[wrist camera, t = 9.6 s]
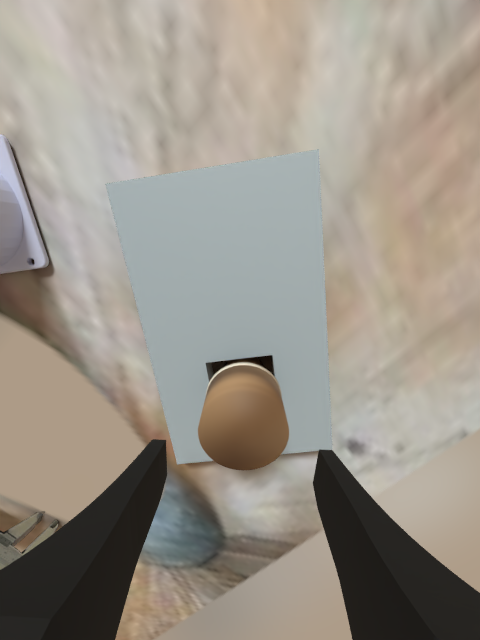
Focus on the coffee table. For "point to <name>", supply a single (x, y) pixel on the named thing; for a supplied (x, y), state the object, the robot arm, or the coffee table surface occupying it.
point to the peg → (243, 416)
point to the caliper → (3, 543)
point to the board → (231, 286)
